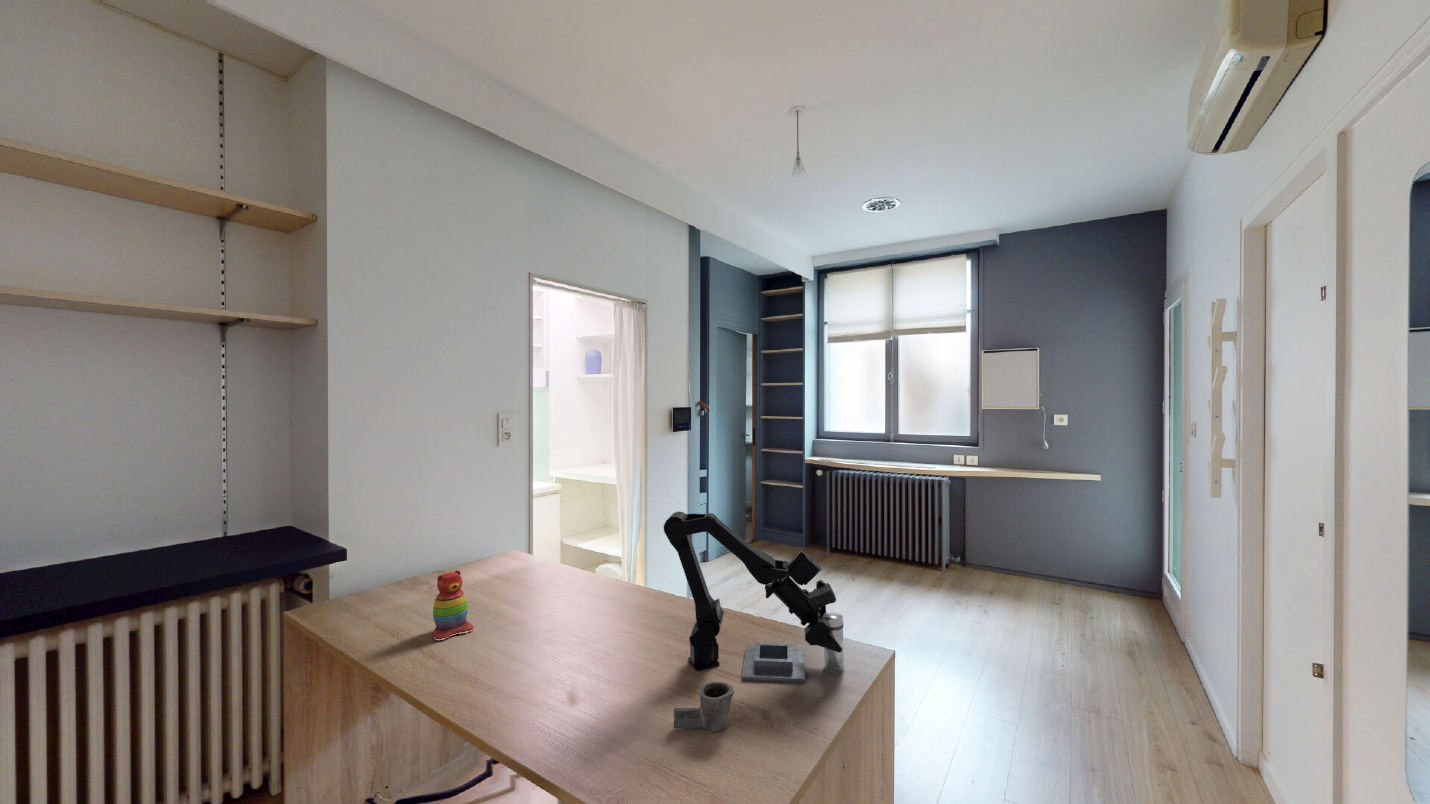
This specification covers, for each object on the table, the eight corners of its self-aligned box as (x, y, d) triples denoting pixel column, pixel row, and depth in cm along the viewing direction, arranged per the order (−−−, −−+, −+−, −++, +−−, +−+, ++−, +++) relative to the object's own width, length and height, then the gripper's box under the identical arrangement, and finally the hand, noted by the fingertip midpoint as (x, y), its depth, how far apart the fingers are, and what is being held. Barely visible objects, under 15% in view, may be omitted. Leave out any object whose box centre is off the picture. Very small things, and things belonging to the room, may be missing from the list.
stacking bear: (436, 643, 150) (434, 581, 149) (427, 632, 157) (425, 573, 157) (475, 631, 157) (473, 572, 156) (465, 621, 164) (463, 564, 164)
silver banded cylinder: (831, 675, 127) (830, 622, 127) (819, 665, 132) (818, 614, 132) (848, 670, 129) (847, 618, 129) (836, 661, 134) (835, 610, 134)
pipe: (673, 721, 111) (672, 684, 110) (733, 717, 112) (732, 680, 112) (673, 740, 105) (672, 701, 104) (737, 735, 106) (736, 696, 106)
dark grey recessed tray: (742, 680, 126) (741, 666, 126) (746, 650, 141) (746, 637, 141) (805, 683, 124) (804, 668, 124) (802, 652, 139) (802, 639, 139)
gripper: (818, 588, 121) (868, 637, 120) (813, 563, 140) (856, 605, 139) (785, 621, 123) (834, 670, 121) (784, 591, 141) (827, 633, 140)
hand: (839, 642), depth 130 cm, fingers open, 9 cm apart
